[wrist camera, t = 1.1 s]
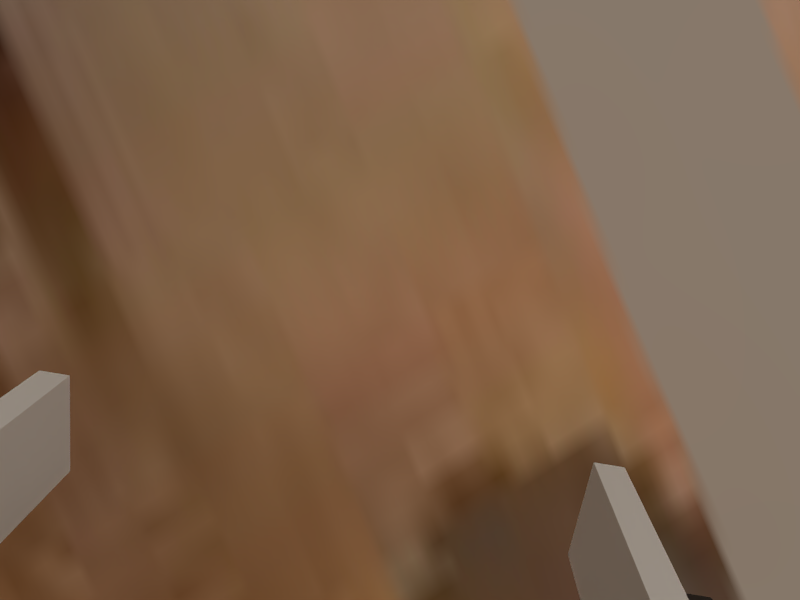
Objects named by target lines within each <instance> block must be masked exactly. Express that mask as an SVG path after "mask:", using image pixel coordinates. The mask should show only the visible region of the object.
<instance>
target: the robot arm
mask: <svg viewBox="0 0 800 600" xmlns="http://www.w3.org/2000/svg"><path fill="white" fill-rule="evenodd" d="M69 472H70V376H69V375H63V374H57V373H51V372H45V371H38V372H37V373H35V374H34V375H32V376H31V377H29V378H28V379H27V380H25V381H24V382H22V383H21V384H20V385H18V386H17V387H15V388H14V389H12V390H11V391H10V392H8V393H7V394H5V395H4V396H3V397H1V398H0V543H1V542H2V541H3V540H4V539H5V538H6V537H7V536H8V535H9V534H10V533H11V532H12V531H13V530H14V529H15V528H16V527H17V526H18V524H19V523H20V522H21V521H22V520H23V519H24V518H25V517H26V516H27V515H28V514H29V513H30V512H31V511H32V510H33V509H34V508H35V507H36V506H37V505H38V504H39V503H40V502H41V501H42V500H43V499H44V498H45V497H46V496H47V494H48V493H49V492H50V491H51V490H52V489H53V488H54V487H55V486H56V485H57V484H58V483H59V482H60V481H61V480H62V479H63V478H64V477H65V476H66V475H67V474H68V473H69ZM568 556H569V560H570V563H571V567H572V571H573V574H574V578H575V582H576V585H577V589H578V593H579V596H580V600H712V599H711V598H710V597H704V596H698V595H692V594H686V593H685V591H684V589H683V587H682V585H681V583H680V581H679V579H678V576H677V574H676V572H675V570H674V568H673V566H672V564H671V562H670V560H669V558H668V556H667V554H666V552H665V550H664V548H663V546H662V544H661V541H660V539H659V537H658V535H657V533H656V531H655V529H654V527H653V525H652V523H651V521H650V519H649V517H648V515H647V513H646V511H645V509H644V506H643V504H642V502H641V500H640V498H639V496H638V494H637V492H636V490H635V488H634V486H633V484H632V482H631V480H630V478H629V476H628V474H627V471H626V469H625V468H624V467H618V466H612V465H606V464H600V463H594V464H593V467H592V471H591V474H590V478H589V481H588V485H587V489H586V492H585V496H584V499H583V503H582V506H581V510H580V513H579V517H578V521H577V524H576V528H575V531H574V535H573V538H572V542H571V545H570V549H569V553H568Z"/></svg>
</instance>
